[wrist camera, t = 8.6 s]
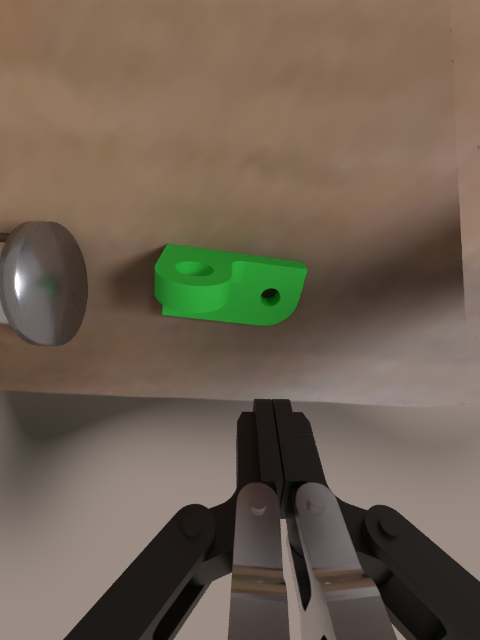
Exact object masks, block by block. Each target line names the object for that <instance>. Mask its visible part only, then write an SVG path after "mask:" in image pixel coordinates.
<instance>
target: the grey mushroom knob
mask: <svg viewBox="0 0 480 640" xmlns="http://www.w3.org/2000/svg"><path fill="white" fill-rule="evenodd" d="M87 295H88V283H87V273H86V267H85V263H84V259H83V256H82V253H81V250H80V248H79V246H78V244H77V242H76V240H75V239H74V237H73V236H72V234H71V233H70V232H69V231H68V230H67V229H66V228H65V227H63V226H62V225H60V224H58V223H55V222H39V221H30V222H25V223H23V224H21V225H19V226H18V227H17V228H15V229H14V230H13V231H12V233H0V325H10V326H11V327H12V329H13V330H14V331H15V333H16V334H17V335H18V336H19V337H20V338H21V339H23V340H24V341H26V342H27V343H29V344H32V345H37V346H60V345H63V344H65V343H67V342H69V341H70V340H71V339H72V338H73V337H74V336H75V334H76V333H77V332H78V330H79V328H80V326H81V323H82V321H83V318H84V315H85V311H86V305H87Z"/></svg>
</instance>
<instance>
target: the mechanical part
mask: <svg viewBox="0 0 480 640" xmlns="http://www.w3.org/2000/svg"><path fill="white" fill-rule="evenodd" d="M306 273H307V268H306V266H305V265H304V263H303V262H297V261H290V260H283V259H275V258H268V257H260V256H253V255H246V254H238V253H231V252H224V251H216V250H209V249H201V248H194V247H187V246H179V245H172V244H167V246H166V247H165V249H164V251H163V252H162V254H161V256H160V258H159V259H158V261H157V263H156V264H155V283H154V294H155V297H156V299H157V300H158V301H159V302H160V303H161V304H162V315H169V316H178V317H187V318H196V319H205V320H214V321H224V322H233V323H242V324H251V325H260V326H268V325H273V324H277V323H279V322H281V321H283V320H285V319H286V318H287V317H289V316H290V315H291V314H292V313H293V311H294V310H295V308H296V307H297V304H298V302H299V298H300V295H301V291H302V288H303V284H304V280H305V277H306ZM269 288H273V289H276V290H277V292H276V294H275V295H274V296H272V297H269V298H266V297H263V296H261V294H262V292H263V291H264V290H266V289H269Z"/></svg>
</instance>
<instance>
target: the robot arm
mask: <svg viewBox="0 0 480 640" xmlns="http://www.w3.org/2000/svg"><path fill="white" fill-rule="evenodd" d="M236 463H237V464H236V468H237V470H236V471H237V473H236V476H237V488H236V491H235V493H234V494H233V496H232V497H231V498H230V499H229V500H228V501H226V502H225V503H223V504H220V505H218V506H215V507H212V508H210V509H208V508H206V507H205V506H202V505H200V504H190V505H187V506H185V507H183V508H182V509H180V510H179V511H178V512H177V513H176V514H175V515H174V516H173V518H172V519H171V520H170V521H169V522H168V523H167V524H166V525H165V526H164V528H163V529H162V530H161V531H160V532H159V533H158V534H157V536H156V537H155V538H154V539H153V540H152V541H151V542H150V543H149V544H148V546H147V547H146V548H145V549H144V550H143V551H142V552H141V553H140V555H139V556H138V557H137V558H136V559H135V560H134V561H133V562H132V563H131V564H130V566H129V567H128V568H127V569H126V570H125V571H124V572H123V573H122V575H121V576H120V577H119V578H118V579H117V580H116V581H115V582H114V583H113V585H112V586H111V587H110V588H109V589H108V590H107V591H106V592H105V594H104V595H103V596H102V597H101V598H100V599H99V600H98V601H97V603H96V604H95V605H94V606H93V607H92V608H91V609H90V610H89V612H88V613H87V614H86V615H85V616H84V617H83V618H82V620H80V622H79V623H78V624H77V625H76V626H75V627H74V628H73V629H72V631H71V632H70V633H69V634H68V635H67V636H66V637H65V638H64V639H63V640H173V639H174V638H175V636H176V635H177V633H178V632H179V630H180V629H181V627H182V626H183V624H184V623H185V621H186V620H187V618H188V616H189V615H190V614H191V612H192V611H193V609H194V608H195V606H196V605H197V603H198V602H199V600H200V599H201V597H202V596H203V594H204V593H205V591H206V590H207V588H208V587H209V585H210V584H211V582H212V581H214V580H216V579H218V578H220V577H222V576H225V575H227V574H229V573H231V572H232V583H231V598H230V613H229V629H228V640H290V634H289V618H288V601H287V591H286V583H285V581H284V578H283V567H282V566H283V565H282V547H281V528H280V519H286V523H287V531H288V533H287V537H286V542H287V549H288V554H289V558H290V564H291V569H292V574H293V580H294V585H295V590H296V595H297V600H298V605H299V610H300V620H301V637H302V640H397V637H396V635H395V632H394V630H393V627H392V624H393V625H394V626H395V627H396V628H397V630H398V631H399V632H400V633H401V634H402V635H403V636H404V637H405V639H407V640H480V582H479V581H478V580H477V579H476V578H474V577H473V576H472V575H471V574H470V573H469V572H468V571H466V570H465V569H464V568H463V567H462V566H461V565H459V564H458V563H457V562H456V561H455V560H454V559H452V558H451V557H450V556H449V555H448V554H446V553H445V552H444V551H443V550H442V549H441V548H440V547H438V546H437V545H436V544H435V543H434V542H432V541H431V540H430V539H429V538H428V537H426V536H425V535H424V534H423V533H422V532H420V530H418V529H417V528H416V527H415V526H414V525H413V524H411V523H410V522H409V521H408V520H407V519H405V518H404V517H403V516H402V515H401V514H400V513H398V512H397V511H396V510H394V509H392V508H390V507H388V506H385V505H375V506H372V507H371V508H370V509H369V510H365V509H362V508H359V507H356V506H353V505H350V504H348V503H345V502H343V501H341V500H340V499H339V498H337V497H336V496H335V495H334V494H333V493H332V491H331V490H330V489H329V487H328V485H327V483H326V480H325V476H324V473H323V469H322V465H321V462H320V458H319V454H318V451H317V447H316V445H315V440H314V436H313V432H312V429H311V425H310V422H309V421H308V419H307V418H306V417H305V415H304V414H303V413H302V412H292V407H291V403H290V400H289V399H272V400H271V399H254V403H253V412H242V413H241V415H240V417H239V419H238V421H237V439H236ZM391 623H392V624H391Z"/></svg>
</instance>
